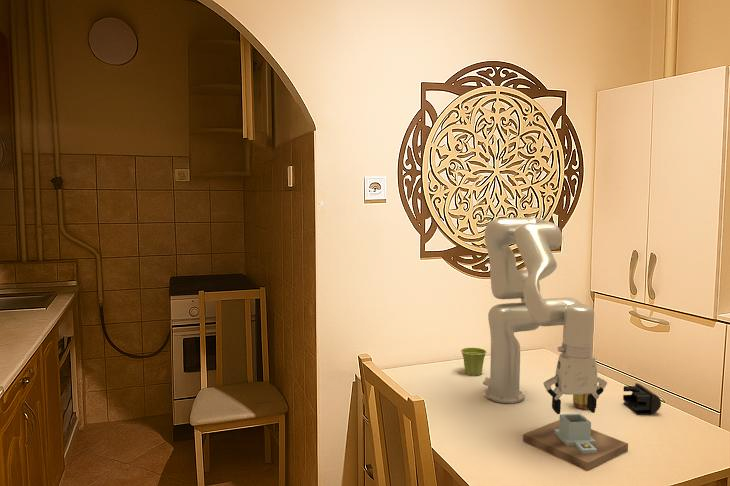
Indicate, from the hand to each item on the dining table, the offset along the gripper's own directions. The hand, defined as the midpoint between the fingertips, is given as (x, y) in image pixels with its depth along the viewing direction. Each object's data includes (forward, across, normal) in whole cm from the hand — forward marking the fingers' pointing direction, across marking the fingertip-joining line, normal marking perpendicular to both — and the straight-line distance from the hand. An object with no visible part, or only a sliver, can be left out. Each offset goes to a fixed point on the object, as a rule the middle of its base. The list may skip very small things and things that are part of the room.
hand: (573, 411), depth 152 cm
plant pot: (+12, -11, +60) cm, 62 cm away
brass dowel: (+7, 0, -7) cm, 10 cm away
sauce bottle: (+10, +15, +25) cm, 31 cm away
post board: (+9, 0, -1) cm, 9 cm away
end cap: (+10, +32, +21) cm, 40 cm away
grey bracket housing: (+7, 0, -3) cm, 8 cm away
